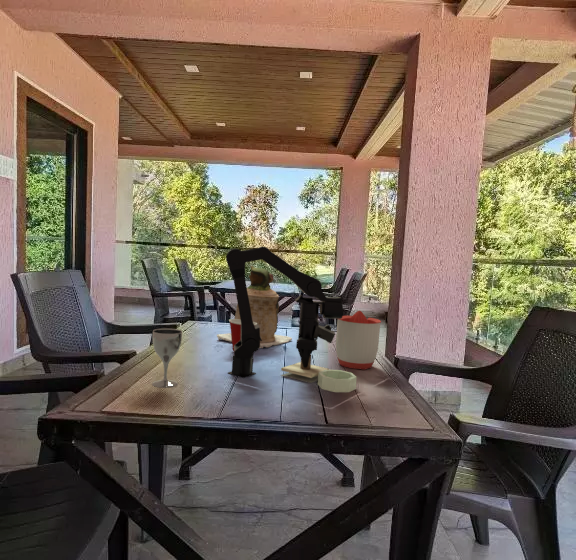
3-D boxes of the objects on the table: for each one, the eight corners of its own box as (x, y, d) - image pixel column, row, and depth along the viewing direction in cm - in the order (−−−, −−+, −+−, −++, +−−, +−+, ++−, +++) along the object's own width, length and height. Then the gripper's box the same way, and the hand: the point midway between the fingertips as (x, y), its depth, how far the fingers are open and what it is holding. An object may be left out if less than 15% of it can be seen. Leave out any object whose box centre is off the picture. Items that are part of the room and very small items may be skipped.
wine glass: (149, 380, 132) (151, 328, 131) (177, 379, 135) (180, 328, 134) (151, 388, 125) (154, 333, 124) (181, 387, 128) (184, 333, 127)
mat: (310, 384, 139) (310, 382, 139) (280, 376, 145) (280, 375, 145) (328, 377, 149) (328, 375, 148) (299, 370, 155) (299, 368, 155)
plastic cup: (259, 355, 172) (261, 323, 172) (231, 355, 168) (233, 323, 168) (250, 348, 182) (252, 318, 182) (223, 348, 178) (225, 318, 178)
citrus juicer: (379, 362, 173) (383, 309, 172) (375, 374, 156) (380, 315, 155) (338, 357, 177) (341, 305, 176) (329, 367, 160) (334, 310, 159)
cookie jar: (264, 350, 182) (269, 268, 180) (214, 340, 193) (218, 264, 191) (293, 341, 203) (298, 268, 201) (247, 332, 215) (251, 264, 213)
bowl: (344, 395, 130) (345, 381, 130) (312, 387, 136) (313, 374, 136) (359, 387, 139) (360, 374, 139) (329, 380, 144) (330, 368, 144)
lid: (311, 377, 139) (312, 360, 139) (281, 370, 145) (282, 354, 145) (328, 371, 148) (329, 355, 148) (299, 364, 154) (300, 349, 154)
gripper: (335, 324, 136) (331, 376, 137) (333, 315, 154) (330, 361, 156) (298, 321, 137) (294, 373, 138) (300, 312, 155) (297, 358, 156)
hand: (305, 366), depth 147 cm, fingers closed on lid, 3 cm apart
